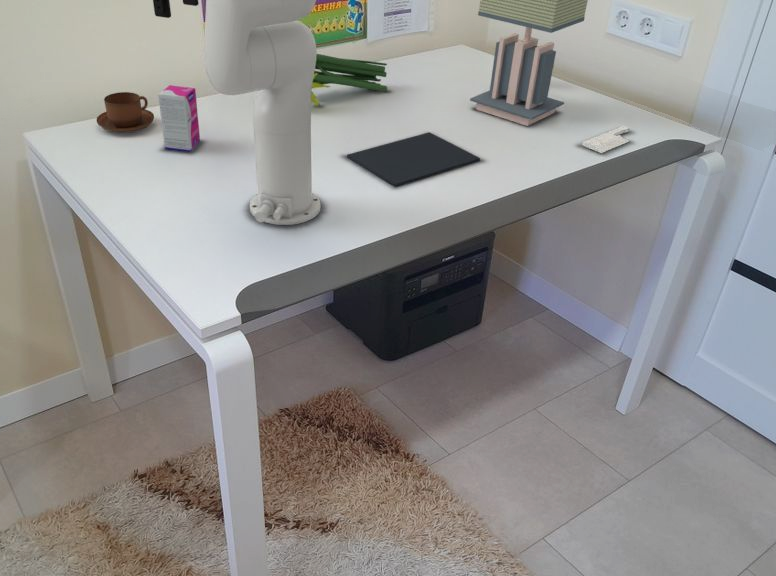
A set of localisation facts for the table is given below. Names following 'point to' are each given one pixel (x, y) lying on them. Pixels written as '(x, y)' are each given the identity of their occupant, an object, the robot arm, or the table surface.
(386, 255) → the table surface
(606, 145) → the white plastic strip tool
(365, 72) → the daffodil flowers
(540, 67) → the desk lamp
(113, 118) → the cup and saucer
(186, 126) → the supplement box
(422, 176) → the desk pad
